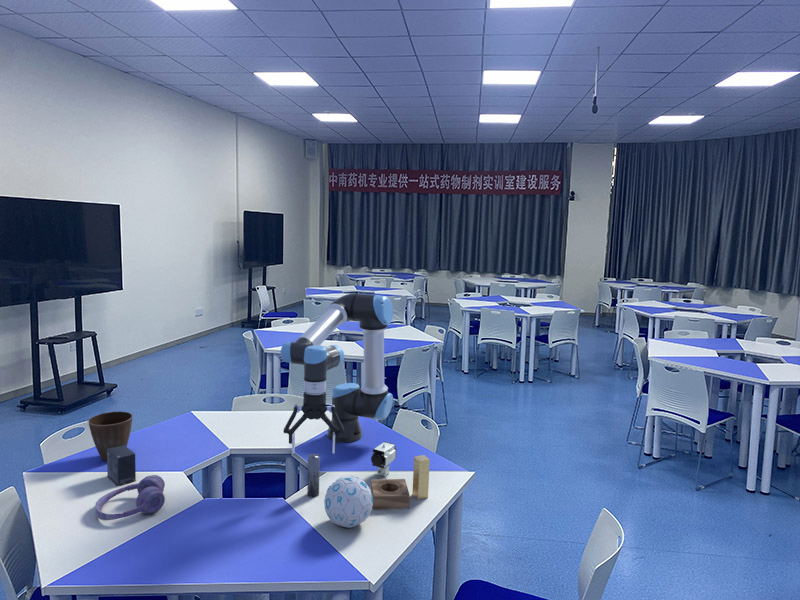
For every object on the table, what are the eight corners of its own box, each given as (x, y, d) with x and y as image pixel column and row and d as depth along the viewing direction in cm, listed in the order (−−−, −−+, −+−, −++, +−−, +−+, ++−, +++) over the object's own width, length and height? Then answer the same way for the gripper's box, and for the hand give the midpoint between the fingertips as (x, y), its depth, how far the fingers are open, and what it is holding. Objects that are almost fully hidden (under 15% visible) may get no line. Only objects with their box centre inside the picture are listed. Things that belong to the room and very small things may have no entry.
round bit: (307, 491, 191) (308, 453, 189) (319, 491, 191) (319, 453, 189) (307, 497, 187) (307, 458, 185) (318, 497, 187) (319, 458, 186)
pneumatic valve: (369, 478, 202) (370, 447, 201) (385, 467, 213) (386, 437, 211) (382, 482, 200) (384, 451, 198) (398, 470, 210) (399, 440, 208)
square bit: (412, 494, 192) (414, 456, 190) (422, 492, 194) (424, 454, 192) (417, 499, 188) (419, 461, 186) (428, 497, 190) (429, 459, 188)
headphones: (166, 488, 188) (102, 506, 181) (162, 466, 187) (96, 484, 179) (167, 515, 172) (95, 536, 164) (162, 491, 170) (89, 511, 163)
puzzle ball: (328, 510, 179) (329, 466, 177) (374, 512, 179) (375, 469, 177) (320, 536, 164) (320, 489, 162) (370, 538, 164) (371, 491, 162)
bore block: (370, 491, 193) (371, 479, 192) (404, 490, 194) (404, 478, 194) (373, 509, 181) (373, 496, 180) (409, 508, 182) (409, 495, 182)
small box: (137, 481, 194) (136, 452, 193) (118, 487, 189) (116, 458, 188) (125, 471, 201) (124, 443, 200) (106, 476, 197) (105, 448, 195)
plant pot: (95, 469, 201) (93, 428, 199) (86, 455, 212) (84, 416, 210) (138, 459, 211) (137, 419, 209) (127, 446, 222) (126, 408, 220)
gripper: (275, 395, 179) (275, 457, 182) (352, 395, 182) (350, 456, 185) (278, 388, 186) (277, 448, 189) (351, 388, 189) (349, 447, 192)
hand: (313, 452), depth 187 cm, fingers open, 13 cm apart
